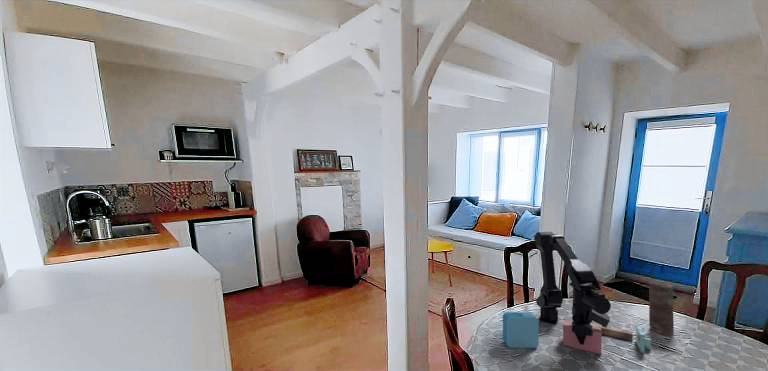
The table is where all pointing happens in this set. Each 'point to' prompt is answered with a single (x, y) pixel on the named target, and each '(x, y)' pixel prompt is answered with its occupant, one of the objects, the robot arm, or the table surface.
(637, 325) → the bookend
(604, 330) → the rail
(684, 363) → the table surface
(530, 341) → the data package
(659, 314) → the brown tall block
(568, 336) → the boxed book
